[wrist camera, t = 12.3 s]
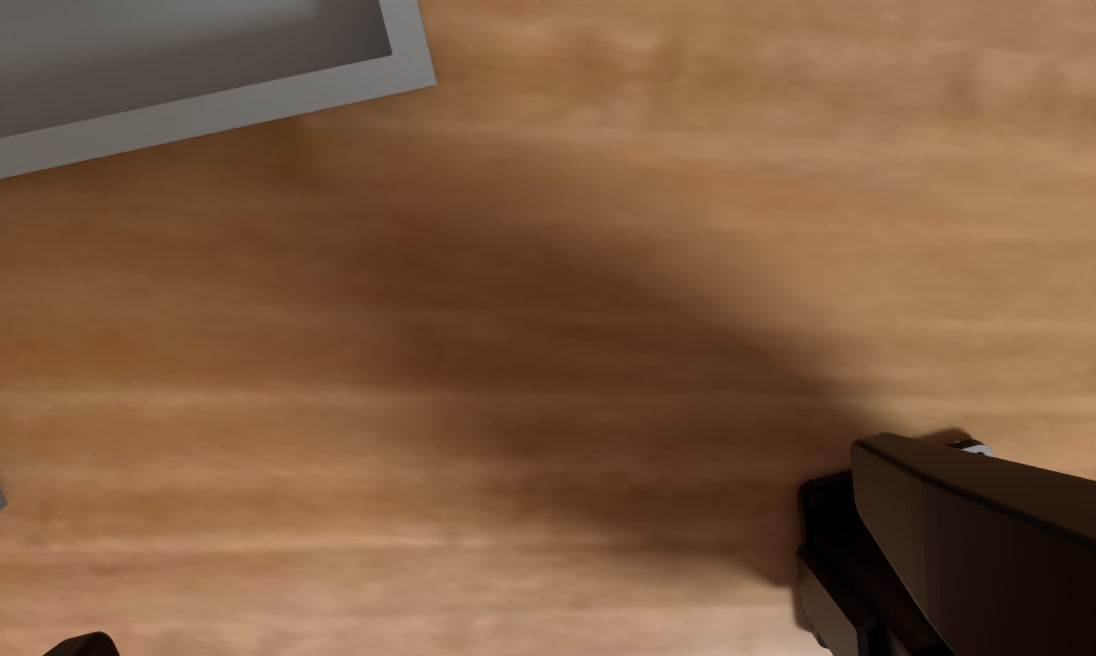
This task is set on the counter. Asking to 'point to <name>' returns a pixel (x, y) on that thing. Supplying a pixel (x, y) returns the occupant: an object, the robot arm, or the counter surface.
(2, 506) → the holder
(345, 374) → the counter surface
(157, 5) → the parts tray
